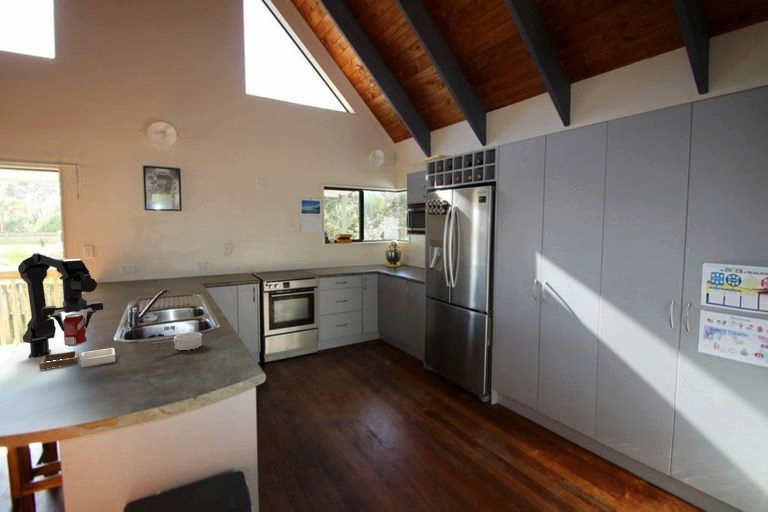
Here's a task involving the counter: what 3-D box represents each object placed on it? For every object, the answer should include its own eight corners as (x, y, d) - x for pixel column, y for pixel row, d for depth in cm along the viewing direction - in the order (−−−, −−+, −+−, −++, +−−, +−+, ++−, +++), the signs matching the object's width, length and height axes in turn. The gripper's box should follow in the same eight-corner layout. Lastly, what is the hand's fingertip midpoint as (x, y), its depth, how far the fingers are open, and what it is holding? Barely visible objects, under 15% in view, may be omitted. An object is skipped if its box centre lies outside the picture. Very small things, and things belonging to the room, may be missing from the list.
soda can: (73, 347, 143) (71, 317, 142) (60, 346, 144) (58, 316, 143) (91, 342, 149) (89, 313, 148) (77, 341, 151) (76, 312, 150)
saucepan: (148, 352, 160) (148, 340, 159) (196, 342, 174) (196, 330, 174) (157, 359, 152) (157, 345, 152) (207, 347, 167) (206, 335, 166)
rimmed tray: (82, 359, 150) (81, 352, 150) (114, 354, 156) (114, 347, 156) (81, 367, 142) (81, 360, 141) (115, 361, 148) (115, 354, 148)
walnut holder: (43, 361, 147) (42, 355, 147) (78, 356, 154) (78, 350, 154) (40, 370, 139) (39, 363, 138) (78, 363, 145) (77, 357, 145)
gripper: (37, 296, 133) (40, 338, 134) (102, 291, 144) (104, 330, 146) (41, 292, 142) (44, 331, 143) (102, 287, 153) (104, 324, 154)
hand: (75, 329), depth 146 cm, fingers closed on soda can, 7 cm apart
